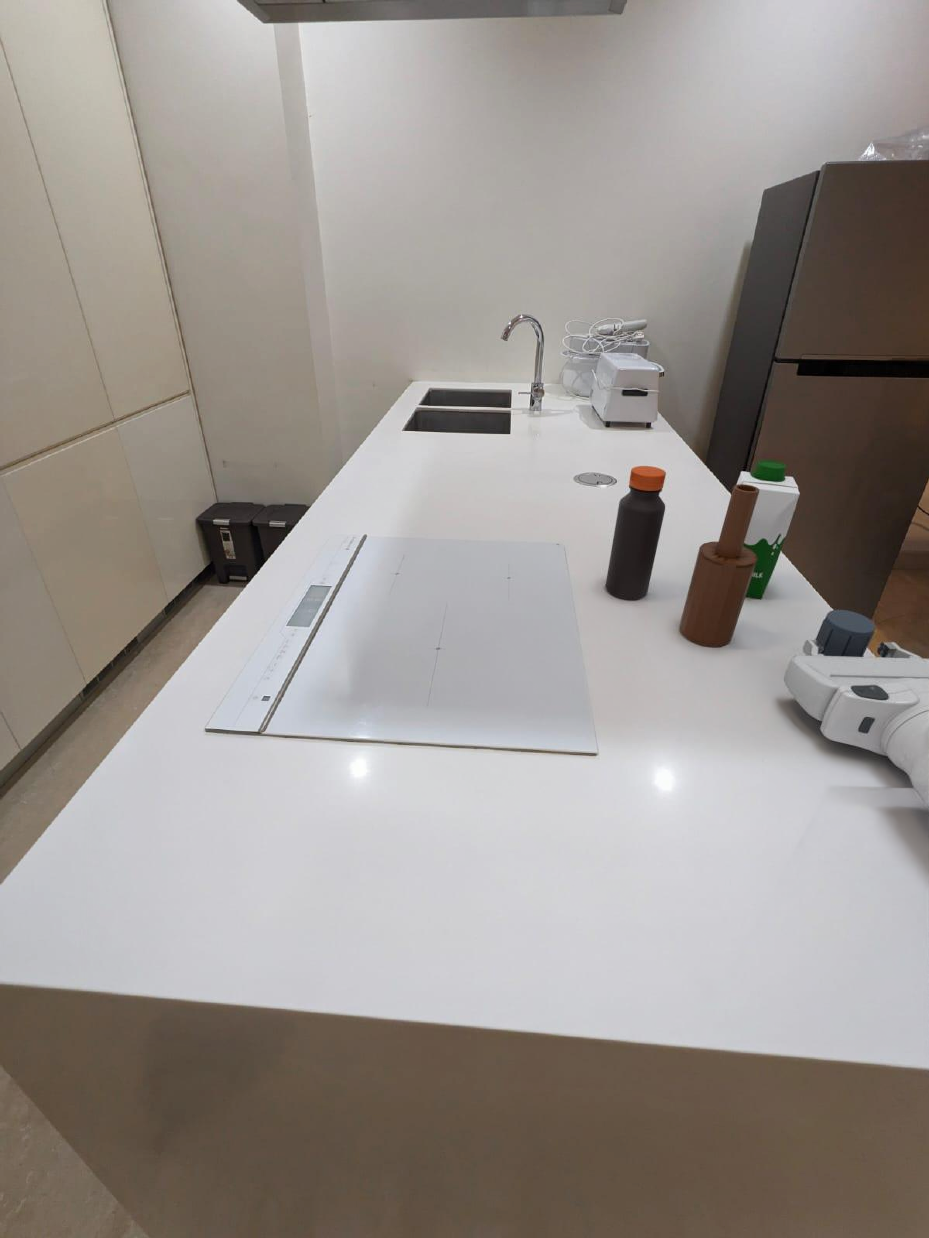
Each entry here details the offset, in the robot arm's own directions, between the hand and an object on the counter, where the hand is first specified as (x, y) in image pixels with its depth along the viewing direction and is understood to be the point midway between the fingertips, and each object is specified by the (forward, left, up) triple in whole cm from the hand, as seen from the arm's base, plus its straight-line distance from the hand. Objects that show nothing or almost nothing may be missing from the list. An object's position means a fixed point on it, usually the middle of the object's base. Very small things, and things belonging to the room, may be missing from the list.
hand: (847, 645), depth 74 cm
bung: (0, -1, -5) cm, 5 cm away
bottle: (+8, -15, -5) cm, 17 cm away
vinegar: (+10, -30, -5) cm, 32 cm away
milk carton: (-8, -23, -5) cm, 25 cm away
